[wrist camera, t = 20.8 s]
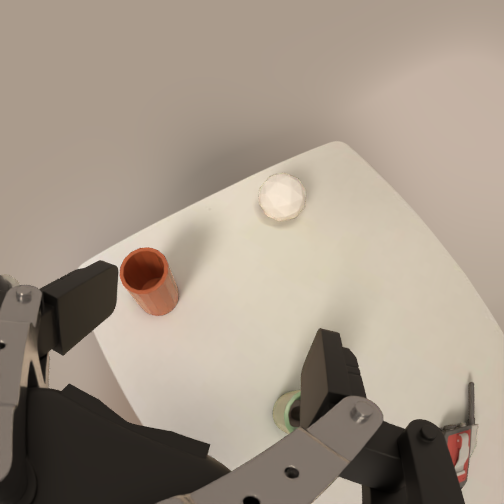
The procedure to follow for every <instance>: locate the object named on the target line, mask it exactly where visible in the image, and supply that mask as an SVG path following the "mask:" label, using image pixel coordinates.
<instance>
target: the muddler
mask: <svg viewBox="0 0 504 504" xmlns="http://www.w3.org/2000/svg"><path fill="white" fill-rule="evenodd" d="M300 404H301V400H295V401H294V402H293V404H292V405H291V407H290V411H289V414H288V416H289V423H290V425H291V426H294V427H300Z"/></svg>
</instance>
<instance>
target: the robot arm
mask: <svg viewBox="0 0 504 504" xmlns="http://www.w3.org/2000/svg"><path fill="white" fill-rule="evenodd" d="M117 284H118V268H117V266H115V265H112V264H110V263H107V262H104V261H101V260H100V261H97V262H95V263H93V264H91V265H90V266H88V267H86V268H82V269H77V270H75V271H72V272H70V273H69V274H67V275H65V276H63V277H61V278H60V279H57V280H55V281H53V282H51V283H50V284H48V285H46V286H44V287H42V288H41V289H38V288H36V287H34V286H31V285H19V286H15V287H13V286H12V284H11V283H10V282H9V281H7V280H6V279H4V277H3V276H1V275H0V504H312V503H313V502H314V501H315V500H316V499H317V498H318V497H319V496H320V495H321V494H322V493H323V492H324V491H325V490H326V489H327V488H328V487H329V486H330V485H331V484H332V483H333V482H334V481H335V480H336V479H337V478H338V477H342V478H344V479H347V480H350V481H353V482H356V483H359V484H362V504H465V502H464V498H463V495H462V491H461V487H460V484H459V480H458V477H457V474H456V470H455V467H454V464H453V461H452V458H451V455H450V452H449V449H448V446H447V443H446V440H445V437H444V435H443V433H442V431H441V430H440V429H439V428H438V427H437V426H436V425H435V424H433V423H431V422H429V421H427V420H422V419H417V420H413V421H412V422H410V423H409V425H408V426H407V427H406V428H405V429H404V428H401V427H398V426H395V425H392V424H389V423H387V422H385V421H383V414H382V411H381V410H380V408H379V407H378V406H377V405H376V404H375V403H373V402H372V401H370V400H368V399H367V398H366V393H365V389H364V386H363V382H362V378H361V376H360V370H359V368H358V367H359V366H358V363H357V359H356V357H355V355H354V354H353V353H352V352H351V351H350V349H349V348H344V347H342V342H341V338H340V334H339V333H338V332H333V331H329V330H325V329H321V328H320V329H319V330H318V331H317V333H316V336H315V338H314V341H313V343H312V346H311V348H310V350H309V353H308V355H307V357H306V360H305V362H304V365H303V369H302V373H301V404H300V427H299V428H297V429H295V430H294V431H292V432H291V433H290V434H288V435H287V436H286V437H284V438H283V439H281V440H280V441H278V442H277V443H275V444H274V445H273V446H271V447H270V448H268V449H267V450H265V451H264V452H262V453H260V454H259V455H257V456H256V457H254V458H253V459H251V460H249V461H248V462H246V463H245V464H243V465H241V466H240V467H238V468H236V469H235V470H233V471H231V470H229V469H228V468H227V467H226V466H224V465H223V464H222V463H220V462H219V461H217V460H216V459H214V458H212V457H210V456H209V455H207V454H208V451H209V447H210V444H207V443H204V442H201V441H198V440H195V439H192V438H189V437H186V436H183V435H180V434H177V433H175V432H172V431H166V430H161V429H155V428H150V427H145V426H140V425H135V424H132V423H129V422H127V421H125V420H124V419H123V418H121V417H120V416H119V415H117V414H116V413H115V412H114V411H112V410H111V409H110V408H108V407H107V406H106V405H105V404H104V403H102V402H101V401H100V400H99V399H97V398H95V397H93V396H91V395H89V394H87V393H85V392H84V391H82V390H80V389H78V388H76V387H75V386H73V385H71V384H68V385H67V386H66V387H65V388H64V389H63V390H62V391H59V390H55V389H50V388H49V360H50V357H49V351H50V350H51V349H53V350H54V351H56V352H58V353H59V354H61V355H65V354H66V353H67V352H68V351H69V350H70V349H71V348H72V347H74V346H75V345H76V344H77V343H78V342H80V341H81V340H82V339H83V338H84V337H85V336H87V335H88V334H89V333H90V332H91V331H92V330H94V329H95V328H96V327H97V326H98V325H99V324H101V323H102V322H103V321H104V320H105V319H107V318H108V317H109V316H110V315H111V314H112V313H113V311H114V309H115V306H116V301H117Z"/></svg>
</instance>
